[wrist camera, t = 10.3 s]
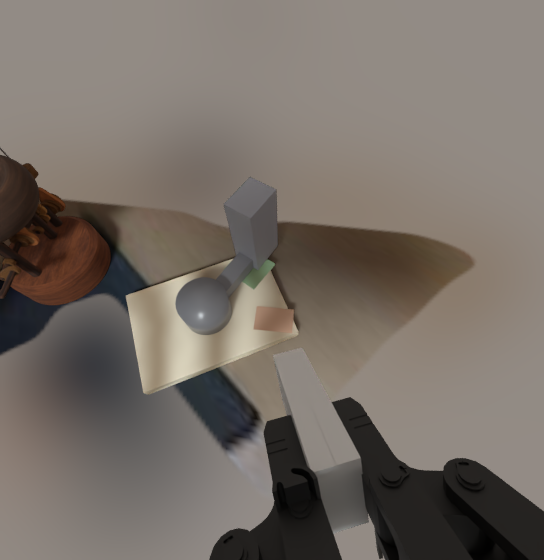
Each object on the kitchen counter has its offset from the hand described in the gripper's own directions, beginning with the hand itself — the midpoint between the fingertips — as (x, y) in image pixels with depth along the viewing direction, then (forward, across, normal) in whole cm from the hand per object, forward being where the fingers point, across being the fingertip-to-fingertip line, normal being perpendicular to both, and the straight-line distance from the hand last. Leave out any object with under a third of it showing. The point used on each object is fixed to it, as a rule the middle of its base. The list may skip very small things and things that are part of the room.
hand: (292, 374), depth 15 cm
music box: (+27, -22, +3) cm, 35 cm away
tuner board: (+19, -5, -4) cm, 20 cm away
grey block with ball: (+20, -2, -1) cm, 20 cm away
